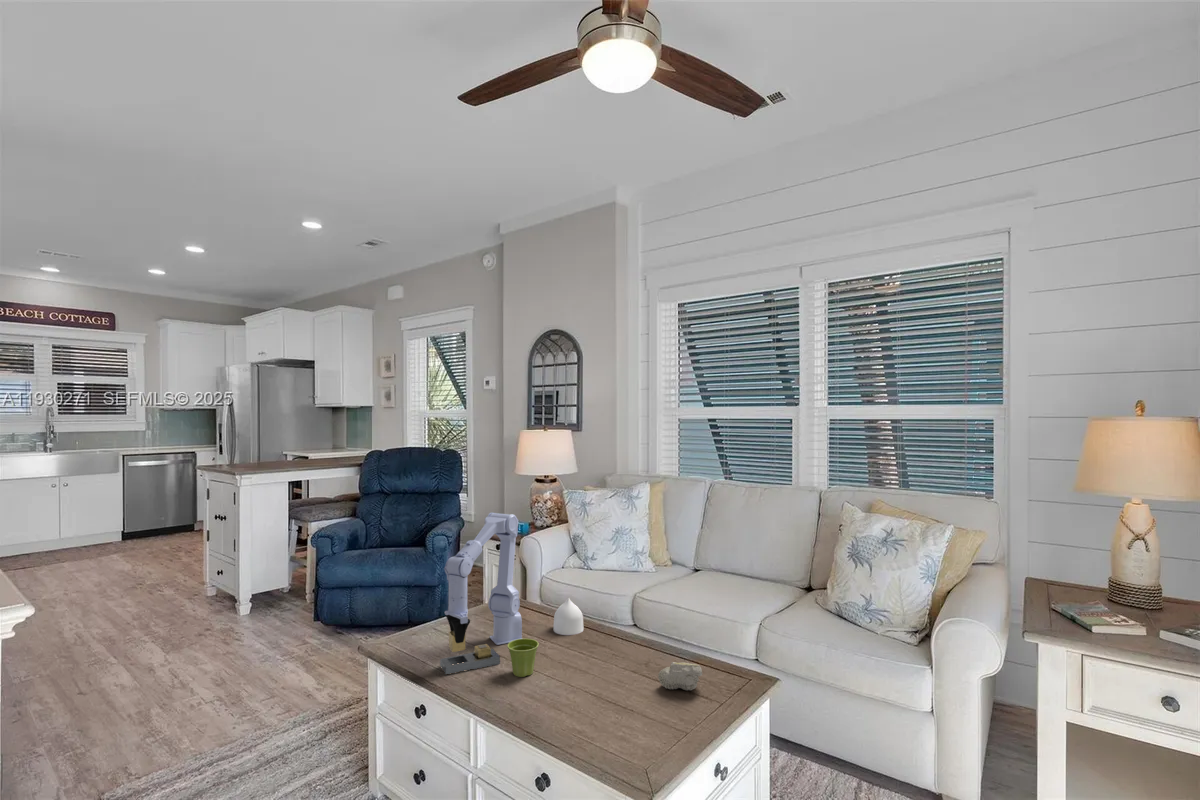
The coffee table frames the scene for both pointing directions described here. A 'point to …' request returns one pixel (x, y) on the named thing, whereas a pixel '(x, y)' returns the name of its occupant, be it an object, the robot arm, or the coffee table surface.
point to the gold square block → (453, 645)
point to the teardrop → (568, 619)
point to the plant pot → (523, 656)
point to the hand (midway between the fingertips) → (457, 639)
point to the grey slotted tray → (468, 662)
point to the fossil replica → (680, 676)
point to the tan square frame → (482, 651)
